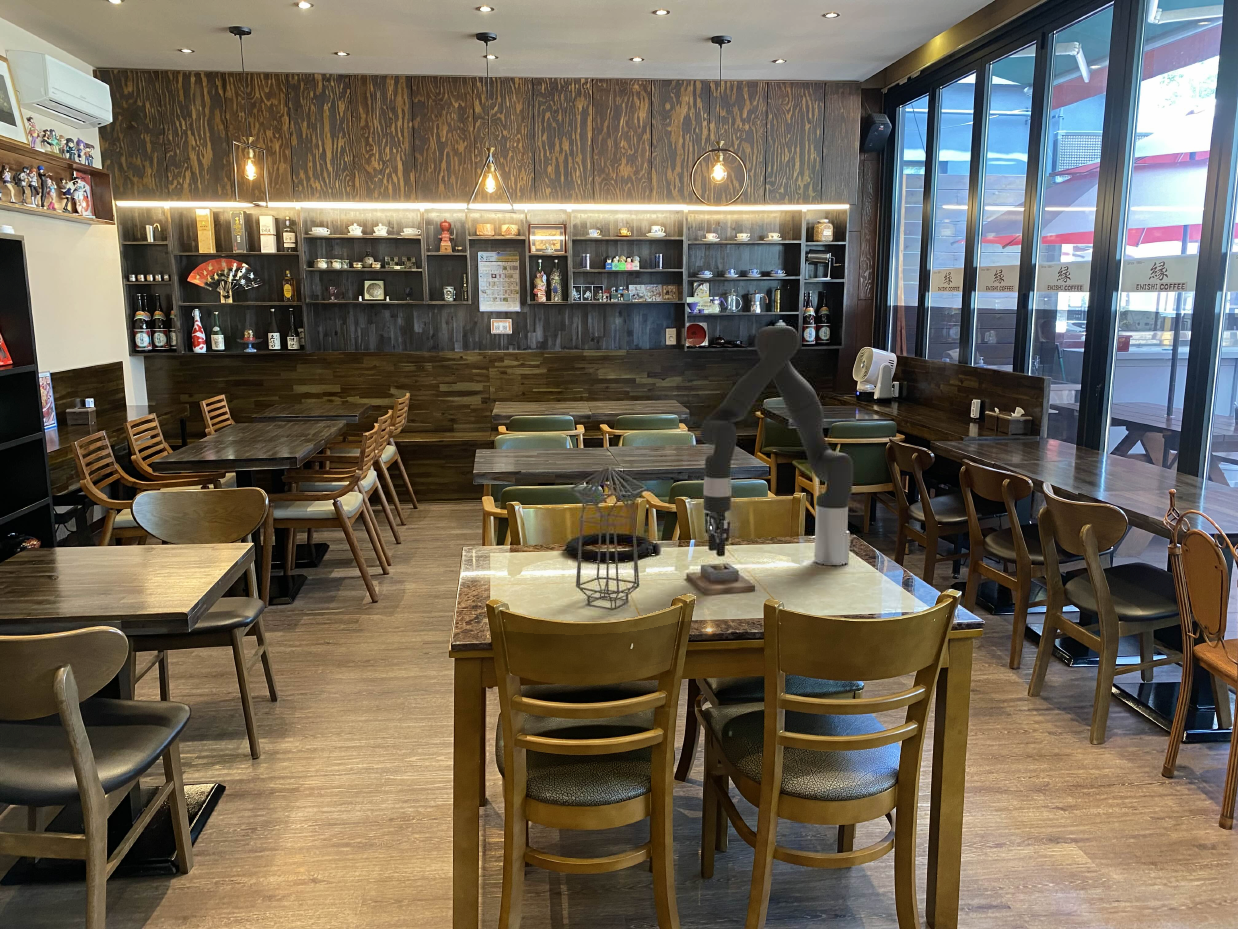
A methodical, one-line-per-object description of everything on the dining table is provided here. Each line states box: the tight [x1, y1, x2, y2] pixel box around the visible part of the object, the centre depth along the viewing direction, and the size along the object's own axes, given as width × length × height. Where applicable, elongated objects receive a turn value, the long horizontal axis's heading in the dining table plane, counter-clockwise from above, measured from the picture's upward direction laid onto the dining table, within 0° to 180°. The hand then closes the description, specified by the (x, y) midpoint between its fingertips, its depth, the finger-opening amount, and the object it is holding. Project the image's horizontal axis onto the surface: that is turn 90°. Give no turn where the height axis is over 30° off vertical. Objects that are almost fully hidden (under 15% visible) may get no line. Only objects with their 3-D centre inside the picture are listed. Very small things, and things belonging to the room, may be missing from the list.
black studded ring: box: [565, 532, 662, 562], centre depth 278 cm, size 28×4×30 cm
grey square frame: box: [700, 562, 740, 583], centre depth 243 cm, size 8×8×3 cm
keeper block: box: [685, 563, 756, 595], centre depth 242 cm, size 14×16×6 cm
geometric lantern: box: [568, 466, 648, 610], centre depth 224 cm, size 16×16×35 cm
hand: (716, 552), depth 244 cm, fingers open, 6 cm apart
